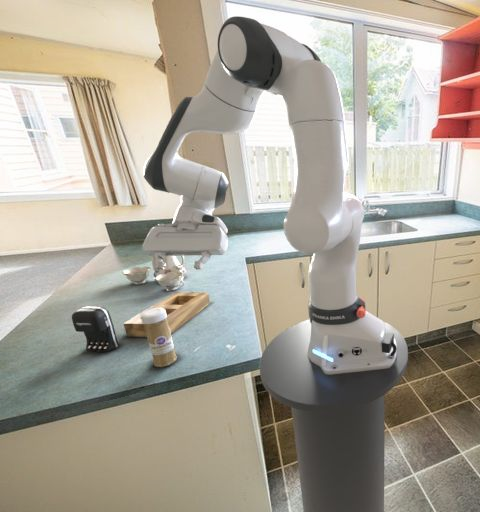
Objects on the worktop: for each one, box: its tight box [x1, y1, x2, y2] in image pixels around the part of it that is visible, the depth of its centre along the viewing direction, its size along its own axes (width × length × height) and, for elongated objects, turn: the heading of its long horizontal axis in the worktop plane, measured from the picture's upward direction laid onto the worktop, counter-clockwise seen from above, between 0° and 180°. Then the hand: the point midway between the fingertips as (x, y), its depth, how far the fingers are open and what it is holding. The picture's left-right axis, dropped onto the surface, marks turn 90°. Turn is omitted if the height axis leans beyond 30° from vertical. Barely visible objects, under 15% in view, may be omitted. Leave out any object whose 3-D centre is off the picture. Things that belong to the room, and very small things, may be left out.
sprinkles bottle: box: [141, 308, 178, 368], centre depth 69 cm, size 5×5×14 cm
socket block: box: [123, 291, 211, 338], centre depth 89 cm, size 11×20×4 cm, turn 178°
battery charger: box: [71, 306, 120, 353], centre depth 73 cm, size 7×4×11 cm, turn 87°
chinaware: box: [122, 256, 188, 292], centre depth 114 cm, size 28×17×17 cm, turn 76°
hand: (179, 269), depth 76 cm, fingers open, 8 cm apart
